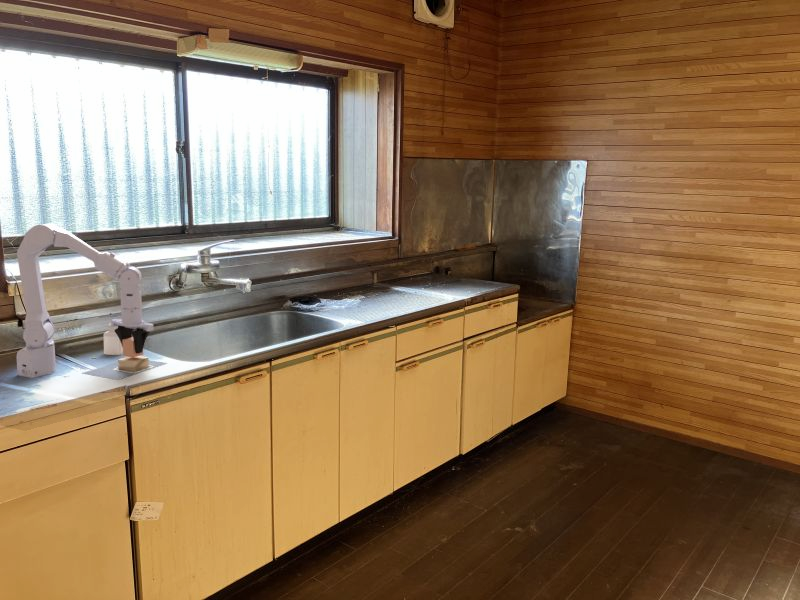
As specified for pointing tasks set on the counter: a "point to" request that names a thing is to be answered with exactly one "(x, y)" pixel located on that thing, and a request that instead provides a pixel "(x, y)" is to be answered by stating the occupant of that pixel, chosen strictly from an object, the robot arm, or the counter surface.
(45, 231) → the robot arm
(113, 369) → the board
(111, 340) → the eye dropper bottle
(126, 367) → the base block
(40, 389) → the counter surface
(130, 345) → the top block
